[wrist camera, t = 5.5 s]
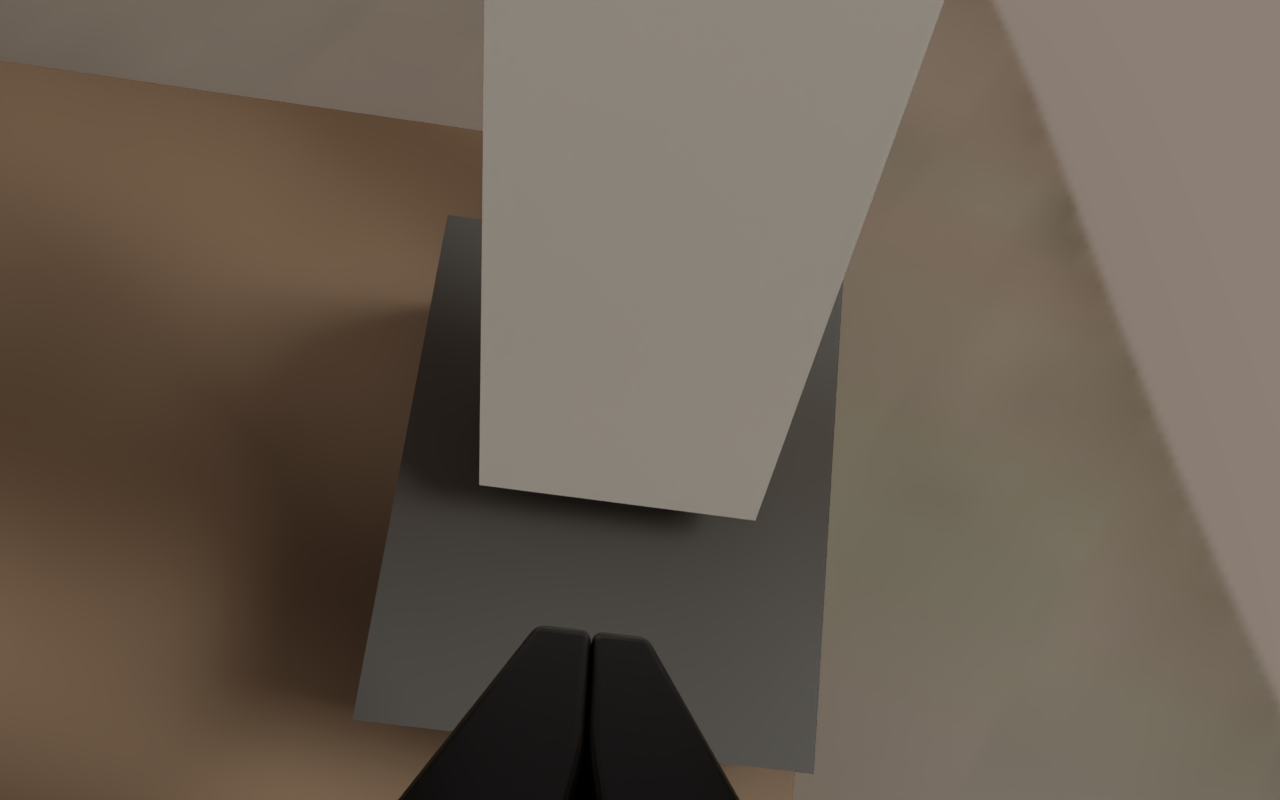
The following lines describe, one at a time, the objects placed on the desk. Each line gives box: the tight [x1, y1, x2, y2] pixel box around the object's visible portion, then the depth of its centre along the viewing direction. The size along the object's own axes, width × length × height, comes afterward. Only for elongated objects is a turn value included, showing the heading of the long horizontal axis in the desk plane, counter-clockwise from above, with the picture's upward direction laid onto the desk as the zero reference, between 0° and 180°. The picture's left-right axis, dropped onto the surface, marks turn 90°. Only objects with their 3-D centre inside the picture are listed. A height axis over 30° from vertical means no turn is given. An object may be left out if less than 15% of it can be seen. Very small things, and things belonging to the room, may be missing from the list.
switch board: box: [0, 61, 843, 800], centre depth 13 cm, size 14×20×4 cm
